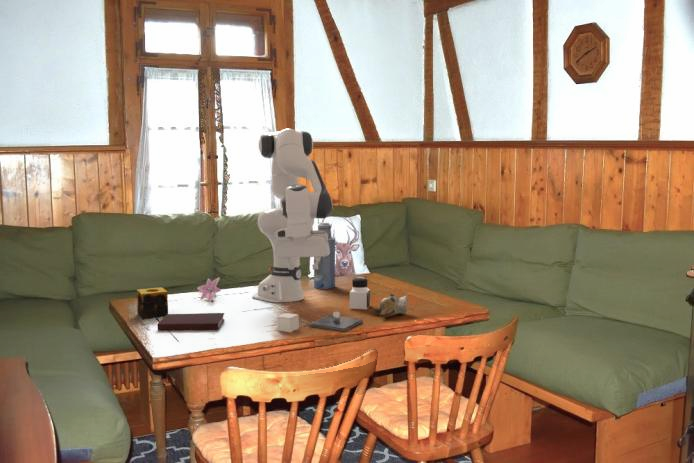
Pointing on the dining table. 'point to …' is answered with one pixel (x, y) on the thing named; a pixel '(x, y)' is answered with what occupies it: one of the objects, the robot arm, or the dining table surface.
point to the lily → (209, 289)
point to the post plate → (336, 322)
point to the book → (191, 322)
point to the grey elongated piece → (326, 263)
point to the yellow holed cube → (152, 303)
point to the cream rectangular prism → (287, 322)
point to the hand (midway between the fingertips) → (303, 269)
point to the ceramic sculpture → (392, 306)
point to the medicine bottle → (359, 294)
